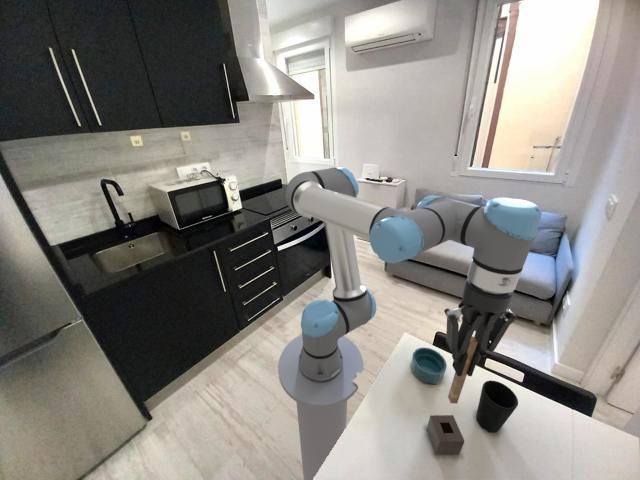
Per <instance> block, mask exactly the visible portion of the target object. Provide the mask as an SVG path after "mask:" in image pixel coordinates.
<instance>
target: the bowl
mask: <svg viewBox="0 0 640 480" xmlns="http://www.w3.org/2000/svg"><path fill="white" fill-rule="evenodd" d="M410 369H411V371H412V373H413V374H414V376H415V377H416V378H417V379H419V380H420V381H422V382H423V383H426V384H431V385H432V384H433V385H435V384H439V383H441V382H442V381H443V380H444V379H445V375H446V372H447V361H446V359H445V357H444V356H443V354H441V353H440V352H438V351H437V350H436V349H432V348H430V347H419V348H416V349H415V350H413V352H412V356H411V362H410Z"/></svg>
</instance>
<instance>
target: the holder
mask: <svg viewBox="0 0 640 480" xmlns="http://www.w3.org/2000/svg"><path fill="white" fill-rule="evenodd" d="M426 432H427V434H428V437H429V440H430V443H431V446H432V449H433V452H434V455H437V456H438V455H439V456H443V455H444V456H446V455H447V456H449V455H452V456H457V455H460V454H461V451H462V449H463V447H464V444H465V439H464V436H463V434H462V432H461V430H460V426H459V425H458V423H457V420H456V419H455V416H454V415H452V414H445V415H444V414H443V415H442V414H435V415H434V414H433V415H429V418H428V422H427V426H426Z"/></svg>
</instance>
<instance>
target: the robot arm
mask: <svg viewBox="0 0 640 480" xmlns="http://www.w3.org/2000/svg"><path fill="white" fill-rule="evenodd" d="M359 189H360V188H359V183H358V181H357V178H356V176H355V175H354V173H353V172H352V171H350V170H349V168H347V167H341V166H339V167H338V166H337V167H329V168H324V169H323V168H322V169H317V170H311V171H310V170H309V171H304V172H299V173H298V174H296V175H295V176H293V177H292V178H291V179H290V180H289V181H288V183H287V185H286V188H285V194H284V197H285V201H286V204H287V206H288V207H289V209H290V210H291V212H294V213H295V214H297V215H299V216H300V217H303V218H315V219H316V220H320V221H322V222H323V224H324V228H325V229H324V230H325V235H326V240H327V245H328V251H329V256H330V261H331V267H332V273H333V279H334V284H335V285H334V286H335V287H334V288H333V290H332V298H333V300H330V299H323V300H322V299H316V300H313V301H311V302H309V303H308V304H307V305H306V306H305V307H304V309H303V310H302V312H301V319H300V328H301V335H302V339H303V347H302V350H301V353H300V355H299V368H300V371H301V373H302V374H303V375H304V376H305V377H306V378H307V379H309V380H311V381H314V382H327V381H330V380H332V379H334V378H335V377H337V376H338V375H339V373H340V372H341V370H342V366H343V357H342V353H341V351H340V349H339V346H338V339H339V338H340V337H342V336H346V335H348V334H349V333H351V332H353V331H354V330H356V329H358V328H360V327H361V326H365V325H366V324H367V323H369V322H370V321H371V320H372V319H373V318H374V317H375V315H376V313H377V302H376V299H375V297H374V296H373V293H372V291H370V289H368V288H367V286H366V285H365V284H363V283H362V282H361V276H360V275H361V274H360V269H359V263H358V257H357V252H356V244H355V237H354V236H356V237H357V238H360V239H362V240H364V241H367V242H369V244H370V247H371V249H372V251H373V253H375V254H376V255H377V256H378V258H379V259H380V260H381V261H382V262H385V263H388V264H396V263H399V262H403V261H408V260H411V259H413V258H415V257H417V256H418V255H420V254H422V253H424V252H426V251H428V250H430V249H432V248H435V247H437V246H439V245H441V244H444V243H447V242H448V241H452V242H455V243H457V244H460V245H463V246H466V247H470V248H472V249H473V254H472V258H471V261H470V264H469V267H468V271H467V274H466V275H467V278H466V279H465V282H464V287H463V290H462V300H461V301H460V302H459V304H458V305H457V308H454V309H450V308H447V307H446V308H444V315H445V316H446V335H445V342H446V345H447V346H448V348H449V350H450V351H451V353H452V354H451V358H452V360H453V361H452V368H453V370H454V373H455V372H456V374H457V375H458V376H462V373H463V370H464V366H465V363H466V360H467V357H468V354H467V353H466V349H467V347H468V344H469V342H470V340H471V337H472V336H473V337H474V338H475V339H476V341H477V342H478V343H477V346H476V349H475V352H474V355H473V358H472V361H471V364H470V367H469V370H468V373H467V376H468V377H472V376H473V374H474V371H475V369H476V365H477V364H478V363H480V362H481V358H487V356H488V353H486V352H487V351H488V352H494V351H495V350H496V348H497V347H498V346H499V344H500V342H501V340H502V339H503V337H504V336H505V333H506V332H507V331H508V329H509V328H510V325H511V324H513V323H514V322H515V321H516V320H517V319H518V316H517V315H516V314H515V313H514V312H513V311H512V310H511V309H510V308H509V307H510V304H511V302H512V299H513V296H514V291H515V289H516V288H517V285H518V282H519V281H520V277H521V274H522V272H523V269H524V265H525V264H526V261H527V258H528V256H529V254H530V250H531V249H532V246H533V244H534V241H535V240H536V238H537V236H538V228H539V224H540V221H541V218H542V214H543V213H542V208H541V207H540V206H538V205H537V204H536V203H534V202H531V201H528V200H525V199H519V198H510V197H495V198H492V199H490V200H488V201H487V203H486V204H485V205H486V206H481V205H477V204H473V203H469V202H465V201H461V200H457V199H453V198H450V197H447V196H440V195H432V194H431V195H428V196H426V197H424V198H422V200H420V202H418V204H417V206H416V209H411V210H401V209H397V208H394V207H390V206H387V205H384V204H381V203H376V202H373V201H370V200H365V199H363V198H358V195H359ZM461 316H462V317H461ZM459 322H461V324H459Z"/></svg>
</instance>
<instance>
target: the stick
mask: <svg viewBox="0 0 640 480" xmlns="http://www.w3.org/2000/svg"><path fill="white" fill-rule="evenodd" d="M474 337H475V336H474V335H472V337H471V340H470V342H469V344H468V347H467V349H466V353H467V354H468V357H467V360H466V363H465V366H464V370H463V373H462V376H458V375H457V374H456V372H455V371H454V375H453V379H452V382H451V385H450V388H449V392H448V395H447V398H448V401H449V403H450V404H458V402H459V399H460V397H461V393H462V390H463V387H464V384H465V381H466V379H467V376H468V375H467V373H468V370H469V367H470V364H471V361H472V358H473V355H474V352H475V349H476V346H477V343H478V342H477V341H476V339H475V338H474Z"/></svg>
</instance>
